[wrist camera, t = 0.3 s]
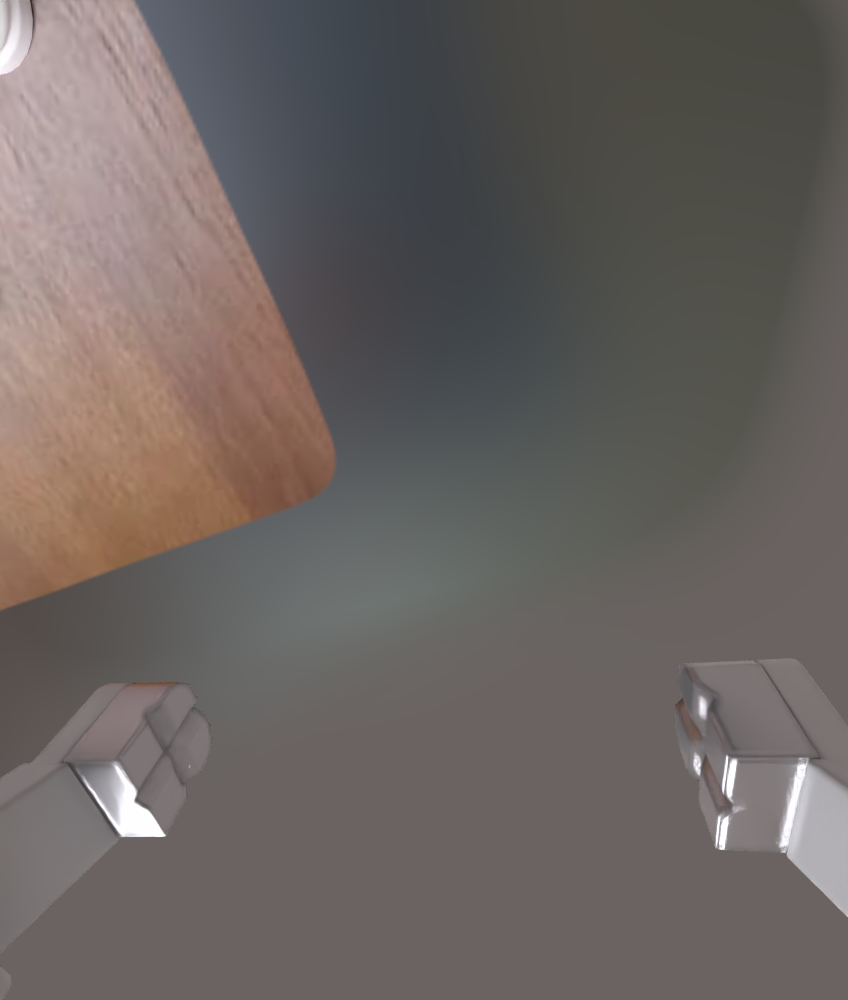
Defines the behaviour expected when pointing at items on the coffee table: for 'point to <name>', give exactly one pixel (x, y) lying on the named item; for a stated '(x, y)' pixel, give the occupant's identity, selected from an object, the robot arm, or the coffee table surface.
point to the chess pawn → (14, 33)
